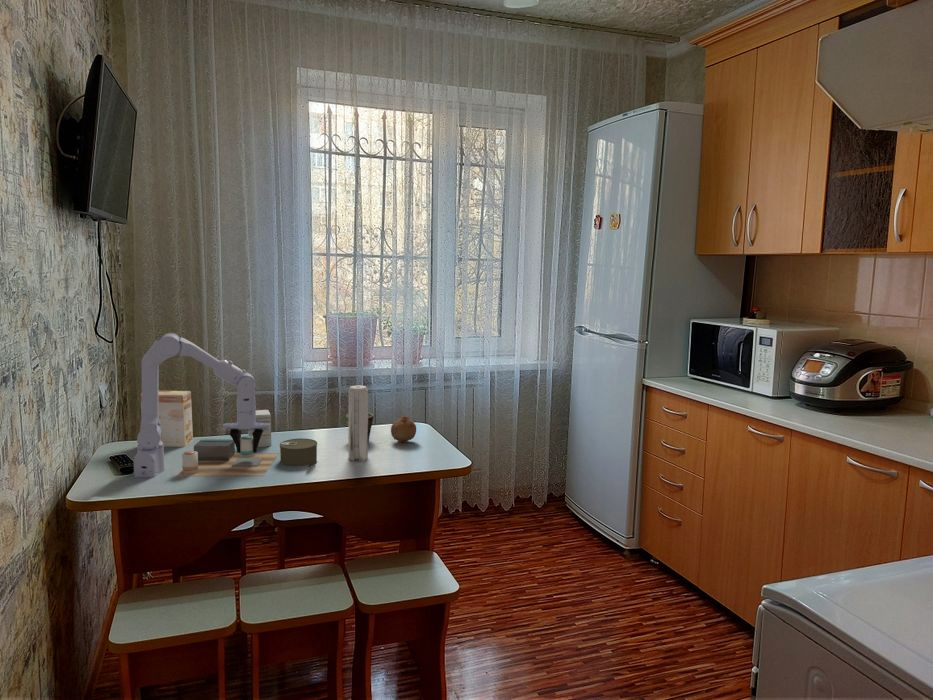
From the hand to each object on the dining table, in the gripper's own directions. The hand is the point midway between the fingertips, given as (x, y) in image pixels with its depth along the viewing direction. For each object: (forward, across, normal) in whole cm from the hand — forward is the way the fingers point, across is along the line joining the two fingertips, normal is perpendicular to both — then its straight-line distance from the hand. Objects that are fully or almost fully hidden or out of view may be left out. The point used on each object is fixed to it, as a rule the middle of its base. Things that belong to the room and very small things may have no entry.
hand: (247, 451), depth 208 cm
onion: (+5, -50, -26) cm, 57 cm away
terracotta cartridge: (+4, +15, +9) cm, 18 cm away
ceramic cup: (+5, -34, -26) cm, 43 cm away
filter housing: (+4, +12, -6) cm, 14 cm away
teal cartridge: (+1, 0, 0) cm, 1 cm away
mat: (+4, 0, 0) cm, 4 cm away
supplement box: (+5, +1, -21) cm, 22 cm away
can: (+5, -16, -2) cm, 17 cm away
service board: (+5, +5, +2) cm, 7 cm away
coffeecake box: (+5, +33, -22) cm, 40 cm away
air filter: (+5, -35, -7) cm, 36 cm away
